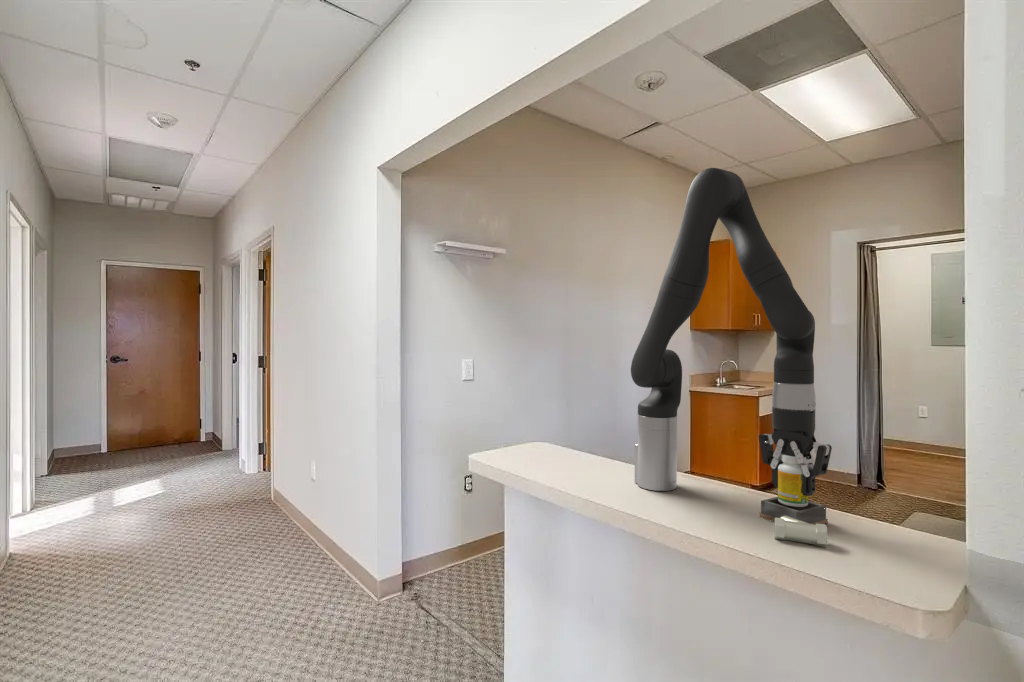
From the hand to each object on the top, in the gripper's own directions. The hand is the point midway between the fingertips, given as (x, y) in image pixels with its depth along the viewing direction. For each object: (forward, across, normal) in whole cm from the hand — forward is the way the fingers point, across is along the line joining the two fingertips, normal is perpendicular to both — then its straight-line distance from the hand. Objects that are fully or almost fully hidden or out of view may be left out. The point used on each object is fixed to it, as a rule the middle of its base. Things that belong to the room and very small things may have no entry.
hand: (793, 490), depth 102 cm
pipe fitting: (+6, +6, -8) cm, 12 cm away
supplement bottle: (+3, 0, 0) cm, 3 cm away
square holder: (+6, 0, 0) cm, 6 cm away
